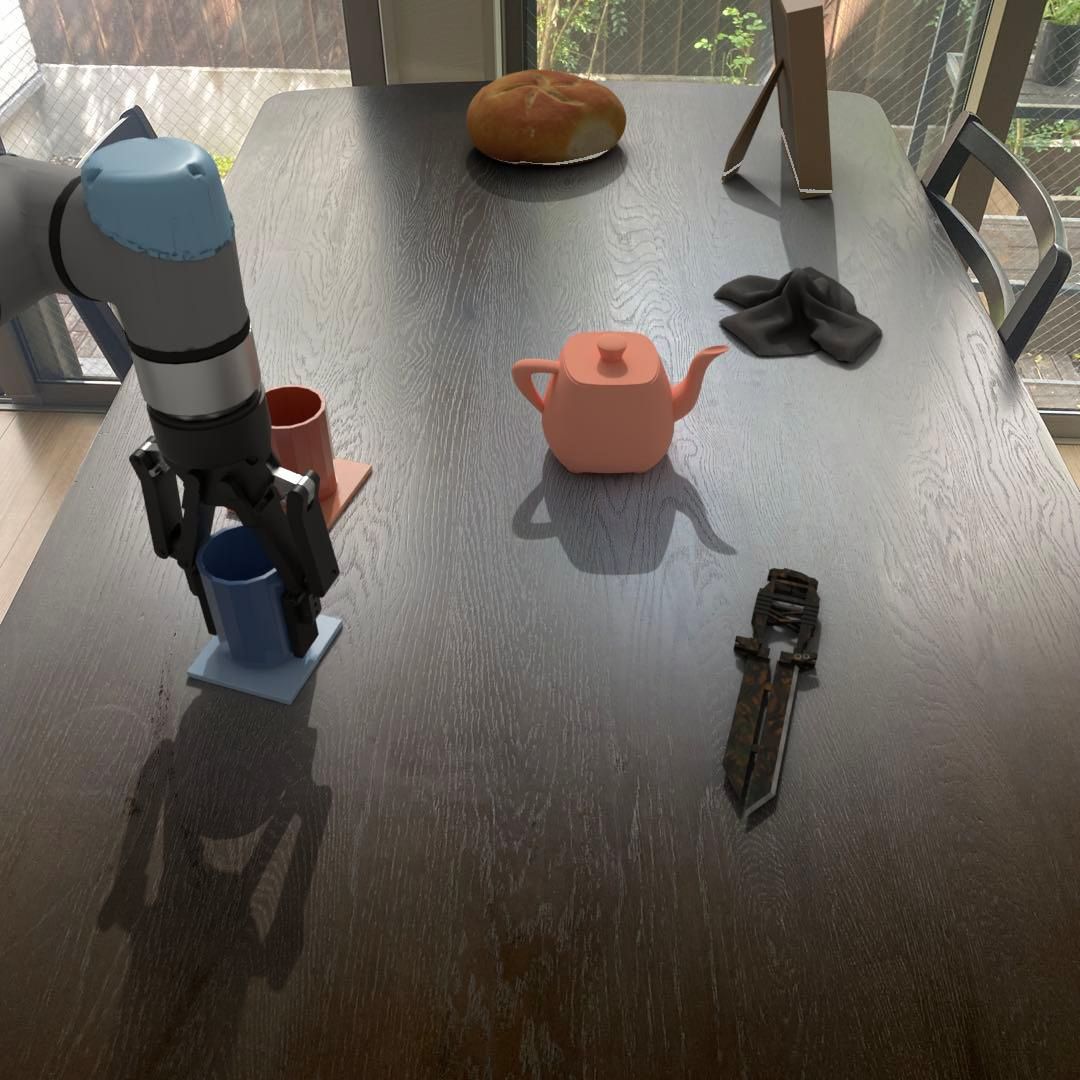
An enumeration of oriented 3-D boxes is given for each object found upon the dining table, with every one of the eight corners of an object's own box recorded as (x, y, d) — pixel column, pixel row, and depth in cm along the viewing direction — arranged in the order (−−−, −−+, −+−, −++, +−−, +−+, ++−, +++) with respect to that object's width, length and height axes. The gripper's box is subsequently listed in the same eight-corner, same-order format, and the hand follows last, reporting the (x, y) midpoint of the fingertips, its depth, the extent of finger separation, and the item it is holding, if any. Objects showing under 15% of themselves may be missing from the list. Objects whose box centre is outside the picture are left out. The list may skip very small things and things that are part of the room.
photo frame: (809, 138, 166) (839, -42, 149) (831, 199, 149) (868, 5, 133) (712, 136, 166) (731, -43, 149) (724, 197, 150) (747, 3, 133)
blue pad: (187, 676, 84) (185, 671, 84) (246, 599, 91) (245, 594, 90) (290, 705, 82) (289, 700, 82) (343, 624, 89) (342, 619, 88)
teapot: (724, 489, 102) (740, 380, 94) (512, 490, 102) (509, 381, 94) (706, 408, 112) (720, 303, 104) (513, 408, 112) (512, 303, 104)
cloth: (894, 367, 118) (907, 317, 114) (723, 362, 118) (730, 313, 114) (857, 269, 134) (867, 222, 130) (708, 266, 135) (713, 219, 131)
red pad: (227, 511, 99) (225, 506, 99) (280, 449, 106) (279, 444, 106) (325, 535, 97) (324, 530, 96) (372, 470, 104) (372, 465, 103)
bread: (607, 185, 153) (610, 114, 146) (448, 169, 157) (445, 99, 150) (634, 126, 169) (638, 59, 162) (490, 113, 173) (488, 47, 166)
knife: (764, 830, 74) (767, 818, 73) (674, 798, 76) (675, 786, 75) (838, 592, 92) (841, 581, 91) (763, 572, 93) (766, 560, 92)
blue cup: (203, 656, 84) (177, 572, 78) (248, 597, 89) (227, 514, 83) (281, 677, 82) (261, 593, 76) (322, 617, 87) (307, 533, 81)
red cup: (250, 500, 100) (232, 420, 94) (286, 457, 104) (271, 378, 98) (316, 515, 98) (302, 435, 92) (350, 471, 103) (338, 392, 97)
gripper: (368, 386, 70) (398, 630, 86) (108, 335, 75) (181, 575, 90) (314, 452, 65) (356, 700, 80) (38, 393, 70) (128, 637, 85)
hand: (263, 633), depth 85 cm, fingers closed on blue cup, 7 cm apart
